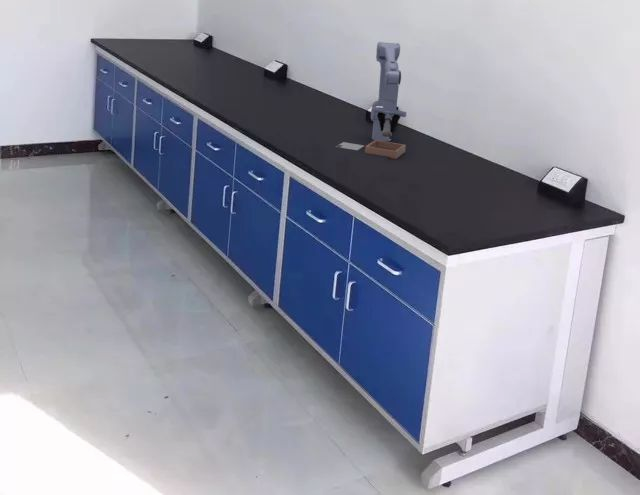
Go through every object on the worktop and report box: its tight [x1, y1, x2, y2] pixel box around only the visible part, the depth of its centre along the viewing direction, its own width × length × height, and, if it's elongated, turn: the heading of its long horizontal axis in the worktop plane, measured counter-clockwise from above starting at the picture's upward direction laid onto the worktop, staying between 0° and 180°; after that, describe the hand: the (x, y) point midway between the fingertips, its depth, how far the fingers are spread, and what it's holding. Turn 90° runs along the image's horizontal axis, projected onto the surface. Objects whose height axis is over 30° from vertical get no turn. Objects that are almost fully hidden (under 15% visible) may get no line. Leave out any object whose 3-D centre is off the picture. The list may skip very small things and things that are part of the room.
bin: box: [364, 140, 407, 160], centre depth 340 cm, size 14×14×4 cm
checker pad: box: [335, 141, 365, 151], centre depth 345 cm, size 10×10×1 cm
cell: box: [382, 118, 393, 138], centre depth 336 cm, size 4×4×8 cm
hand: (387, 131), depth 337 cm, fingers closed on cell, 4 cm apart
